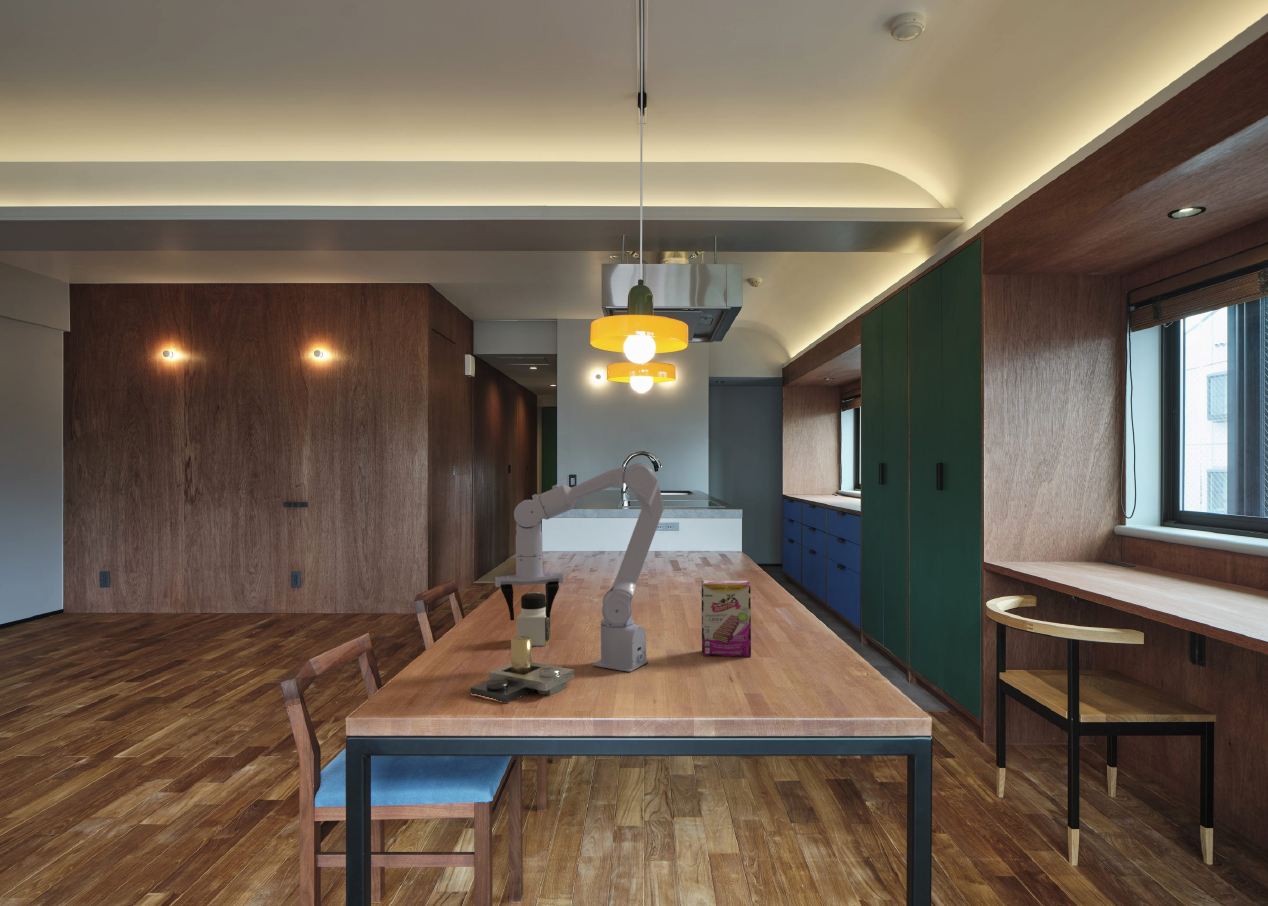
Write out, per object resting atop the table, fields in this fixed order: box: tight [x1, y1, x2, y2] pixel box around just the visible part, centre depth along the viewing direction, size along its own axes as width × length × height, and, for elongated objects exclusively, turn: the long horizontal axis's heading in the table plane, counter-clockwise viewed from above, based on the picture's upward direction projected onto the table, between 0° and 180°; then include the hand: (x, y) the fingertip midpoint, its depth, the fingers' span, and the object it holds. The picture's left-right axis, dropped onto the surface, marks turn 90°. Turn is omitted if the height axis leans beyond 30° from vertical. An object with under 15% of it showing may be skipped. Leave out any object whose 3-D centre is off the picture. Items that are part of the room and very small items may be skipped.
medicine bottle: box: [516, 592, 551, 647], centre depth 159 cm, size 7×7×12 cm
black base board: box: [470, 679, 536, 704], centre depth 125 cm, size 14×9×2 cm, turn 150°
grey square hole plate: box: [488, 661, 575, 696], centre depth 126 cm, size 14×9×4 cm, turn 60°
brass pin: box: [510, 636, 533, 675], centre depth 128 cm, size 4×4×9 cm
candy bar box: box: [701, 579, 752, 658], centre depth 146 cm, size 11×5×16 cm, turn 84°
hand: (530, 618), depth 139 cm, fingers open, 7 cm apart
